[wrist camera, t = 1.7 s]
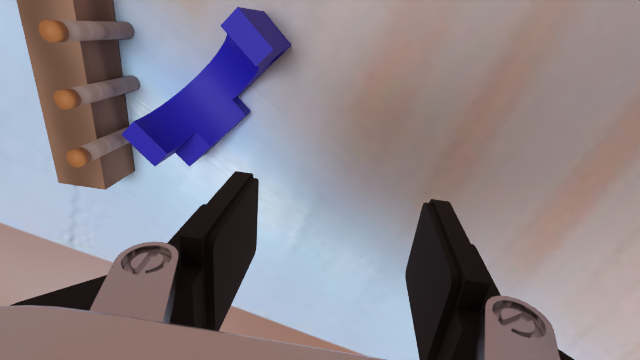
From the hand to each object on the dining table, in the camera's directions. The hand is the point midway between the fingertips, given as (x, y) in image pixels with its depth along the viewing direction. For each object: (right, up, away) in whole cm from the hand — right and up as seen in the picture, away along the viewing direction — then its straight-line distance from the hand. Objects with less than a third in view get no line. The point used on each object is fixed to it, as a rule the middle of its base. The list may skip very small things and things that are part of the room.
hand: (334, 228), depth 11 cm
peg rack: (-18, +10, +17) cm, 27 cm away
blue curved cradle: (-8, +9, +17) cm, 20 cm away
